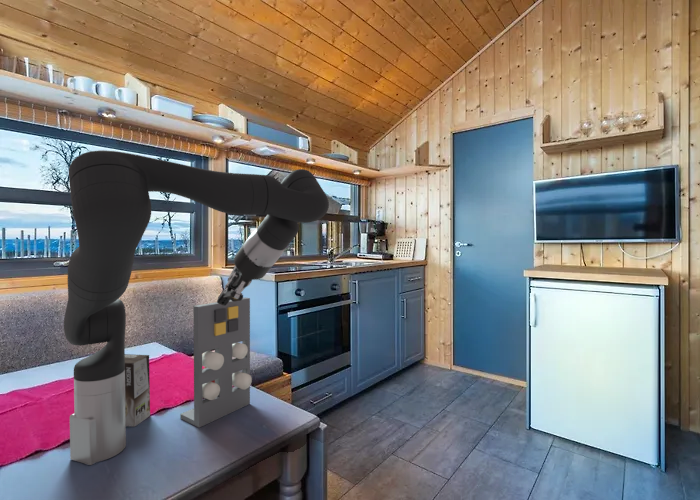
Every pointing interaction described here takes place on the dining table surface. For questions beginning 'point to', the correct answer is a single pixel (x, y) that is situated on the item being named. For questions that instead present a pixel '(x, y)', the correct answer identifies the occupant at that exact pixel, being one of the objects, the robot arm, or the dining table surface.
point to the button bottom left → (210, 390)
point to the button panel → (220, 333)
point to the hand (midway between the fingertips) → (221, 302)
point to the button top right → (239, 350)
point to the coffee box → (137, 389)
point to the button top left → (212, 360)
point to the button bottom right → (241, 380)
